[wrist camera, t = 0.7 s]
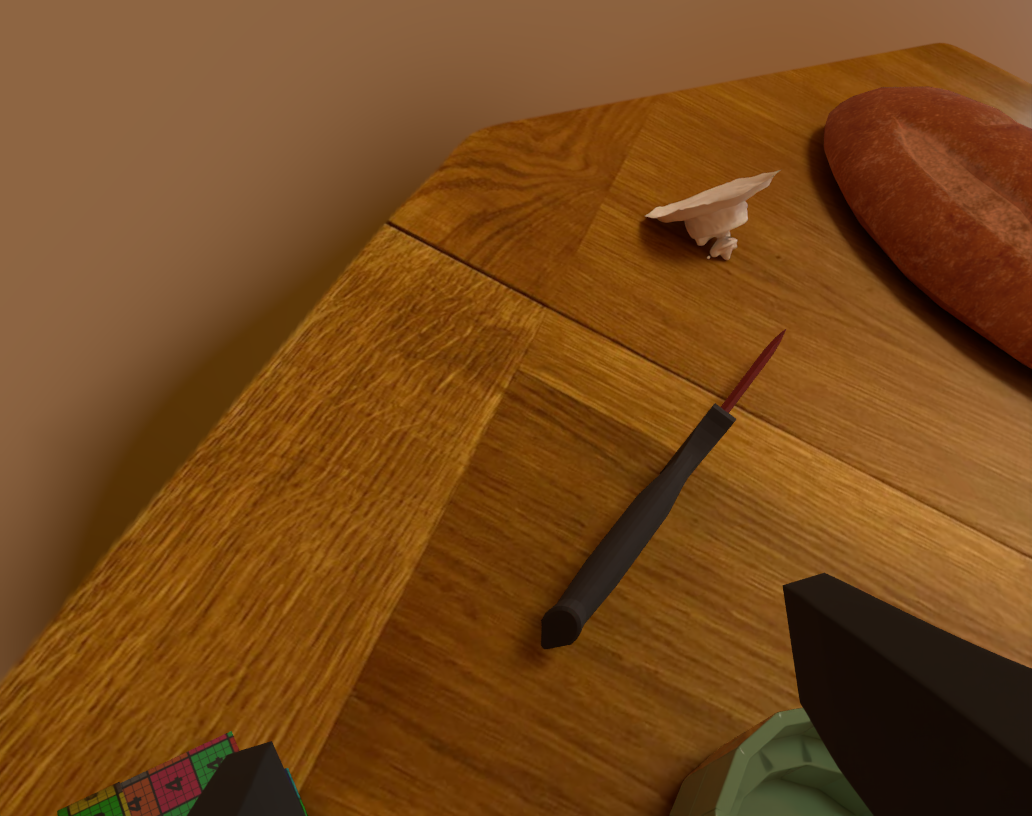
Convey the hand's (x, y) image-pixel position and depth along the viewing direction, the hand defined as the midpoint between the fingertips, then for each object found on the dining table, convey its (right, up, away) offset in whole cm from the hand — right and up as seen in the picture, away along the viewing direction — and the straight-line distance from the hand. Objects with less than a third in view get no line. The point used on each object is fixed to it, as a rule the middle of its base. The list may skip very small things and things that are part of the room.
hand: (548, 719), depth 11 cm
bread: (+34, +16, +51) cm, 63 cm away
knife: (+7, +1, +28) cm, 28 cm away
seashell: (+11, +15, +41) cm, 45 cm away
